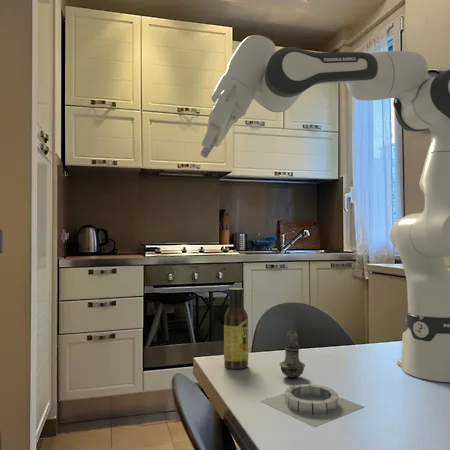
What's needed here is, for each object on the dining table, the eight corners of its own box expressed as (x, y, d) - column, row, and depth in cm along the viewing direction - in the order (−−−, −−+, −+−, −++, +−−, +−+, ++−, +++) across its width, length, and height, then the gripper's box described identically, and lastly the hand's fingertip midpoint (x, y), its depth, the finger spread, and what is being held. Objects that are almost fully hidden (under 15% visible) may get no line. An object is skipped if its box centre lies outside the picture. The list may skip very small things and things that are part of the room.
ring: (309, 390, 85) (309, 381, 86) (348, 405, 77) (348, 395, 78) (274, 401, 80) (274, 391, 80) (313, 419, 72) (313, 408, 72)
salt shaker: (305, 385, 90) (304, 331, 91) (278, 383, 91) (278, 330, 92) (305, 376, 96) (304, 325, 97) (280, 375, 97) (279, 324, 98)
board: (309, 388, 88) (309, 385, 88) (364, 409, 77) (364, 406, 77) (260, 404, 80) (260, 400, 80) (314, 430, 69) (314, 426, 69)
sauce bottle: (247, 370, 101) (247, 290, 102) (222, 370, 101) (222, 289, 102) (249, 363, 107) (248, 287, 108) (225, 362, 108) (224, 287, 109)
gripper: (249, 88, 84) (219, 146, 83) (238, 120, 105) (213, 167, 103) (222, 74, 84) (192, 132, 83) (216, 108, 104) (191, 155, 103)
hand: (204, 151), depth 93 cm, fingers open, 8 cm apart
